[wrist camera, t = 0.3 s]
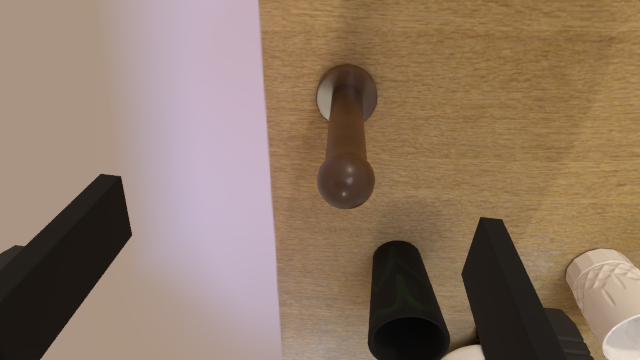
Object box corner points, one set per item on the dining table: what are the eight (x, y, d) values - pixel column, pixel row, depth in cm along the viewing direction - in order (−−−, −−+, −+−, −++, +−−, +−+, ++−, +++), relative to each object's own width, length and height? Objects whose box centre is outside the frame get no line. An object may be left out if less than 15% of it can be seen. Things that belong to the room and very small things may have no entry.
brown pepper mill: (318, 62, 40) (298, 150, 24) (378, 65, 40) (399, 155, 24) (316, 119, 43) (298, 231, 27) (373, 122, 42) (388, 236, 27)
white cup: (641, 278, 50) (702, 350, 42) (573, 304, 53) (617, 377, 44) (620, 232, 47) (680, 300, 39) (549, 262, 50) (590, 332, 41)
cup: (443, 254, 50) (468, 339, 40) (400, 292, 54) (413, 379, 43) (392, 222, 48) (403, 302, 38) (351, 263, 52) (351, 347, 41)
